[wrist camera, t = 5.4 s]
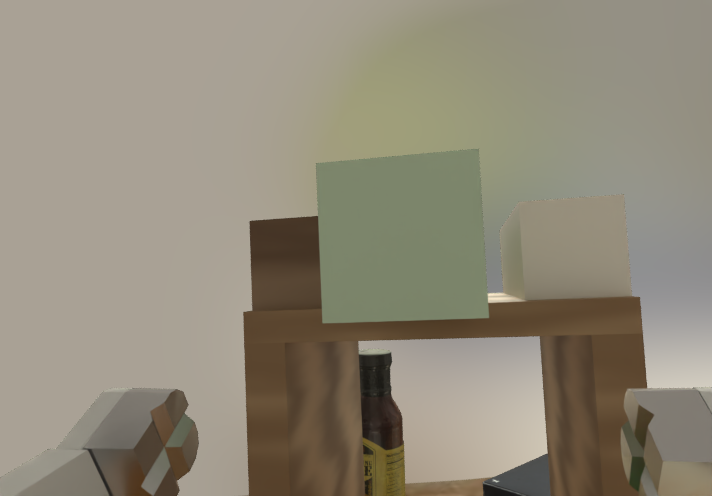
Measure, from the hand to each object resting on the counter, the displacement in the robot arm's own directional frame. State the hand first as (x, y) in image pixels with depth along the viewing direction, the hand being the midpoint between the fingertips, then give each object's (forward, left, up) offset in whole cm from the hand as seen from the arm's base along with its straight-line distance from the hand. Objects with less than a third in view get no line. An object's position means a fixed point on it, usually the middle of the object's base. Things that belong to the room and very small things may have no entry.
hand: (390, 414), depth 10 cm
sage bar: (+9, +9, +2) cm, 13 cm away
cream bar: (+16, +8, +2) cm, 17 cm away
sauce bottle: (+28, +41, -25) cm, 55 cm away
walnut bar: (+8, +15, +2) cm, 17 cm away
